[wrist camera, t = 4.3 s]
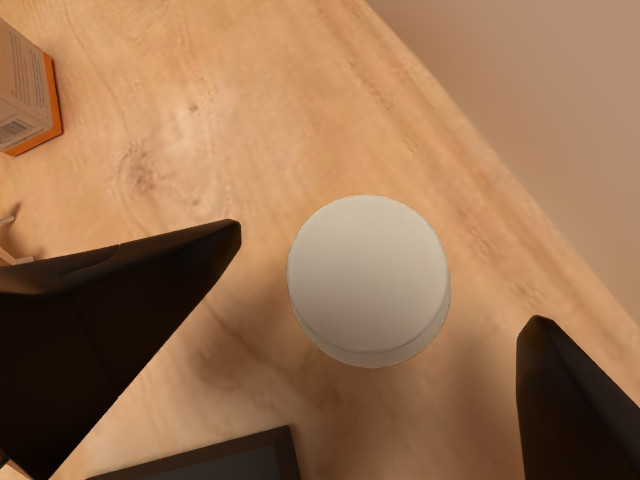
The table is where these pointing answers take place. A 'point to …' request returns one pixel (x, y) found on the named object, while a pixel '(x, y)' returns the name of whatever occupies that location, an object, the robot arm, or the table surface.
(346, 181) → the table surface
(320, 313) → the supplement bottle
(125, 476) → the docking pad
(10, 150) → the supplement box
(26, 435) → the robot arm
